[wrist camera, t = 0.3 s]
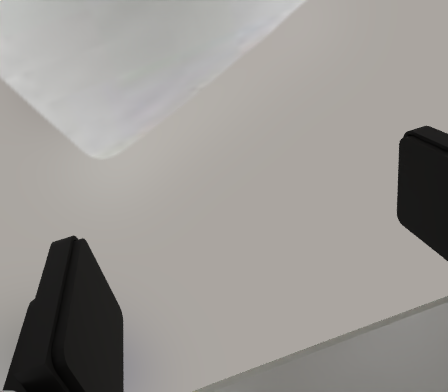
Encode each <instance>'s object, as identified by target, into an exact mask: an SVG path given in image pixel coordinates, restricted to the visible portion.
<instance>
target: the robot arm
mask: <svg viewBox="0 0 448 392" xmlns="http://www.w3.org/2000/svg"><path fill="white" fill-rule="evenodd" d="M397 217H398V219H399V221H400V223H401V224H402V225H403V226H404V227H405V228H407V229H408V230H409V231H410V232H412V233H413V234H414V235H416V236H417V237H418V238H419V239H421V240H422V241H423V242H424V243H426V244H427V245H428V246H429V247H431V248H432V249H433V250H434V251H436V252H437V253H438V254H439V255H441V256H442V257H443V258H444V259H446V260H447V261H448V134H447V133H444V132H442V131H440V130H437V129H435V128H432V127H429V126H424V127H421V128H417V129H414V130H411V131H408V132H406V133H405V134H404V137H403V138H402V139H401V140H400V143H399V169H398V196H397ZM1 392H123V316H122V312H121V309H120V306H119V305H118V302H117V301H116V298H115V296H114V294H113V293H112V291H111V289H110V287H109V285H108V283H107V281H106V279H105V277H104V275H103V273H102V271H101V269H100V267H99V265H98V263H97V261H96V259H95V257H94V255H93V253H92V251H91V249H90V247H89V245H88V243H87V242H86V240H85V239H79V240H78V238H76V236H71V237H68V238H65V239H61V240H58V241H55V242H53V243H52V244H51V246H50V249H49V253H48V256H47V260H46V264H45V267H44V270H43V273H42V277H41V280H40V284H39V287H38V291H37V294H36V298H35V299H34V300H33V301H31V302H30V305H29V307H28V310H27V313H26V316H25V319H24V323H23V326H22V329H21V332H20V336H19V339H18V343H17V346H16V349H15V352H14V355H13V359H12V362H11V365H10V368H9V372H8V375H7V378H6V381H5V385H4V388H3V391H1ZM193 392H448V296H447V297H444V298H441V299H438V300H436V301H433V302H430V303H428V304H425V305H422V306H419V307H417V308H414V309H411V310H409V311H406V312H403V313H400V314H398V315H395V316H392V317H390V318H387V319H384V320H381V321H379V322H376V323H373V324H371V325H368V326H366V327H363V328H360V329H358V330H355V331H352V332H349V333H346V334H344V335H341V336H338V337H336V338H333V339H331V340H328V341H325V342H323V343H320V344H317V345H314V346H312V347H309V348H306V349H304V350H301V351H298V352H296V353H293V354H290V355H288V356H285V357H283V358H280V359H277V360H274V361H272V362H269V363H266V364H264V365H261V366H259V367H256V368H253V369H250V370H248V371H245V372H242V373H240V374H237V375H235V376H232V377H229V378H227V379H224V380H221V381H219V382H216V383H213V384H211V385H208V386H206V387H203V388H200V389H198V390H195V391H193Z"/></svg>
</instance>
